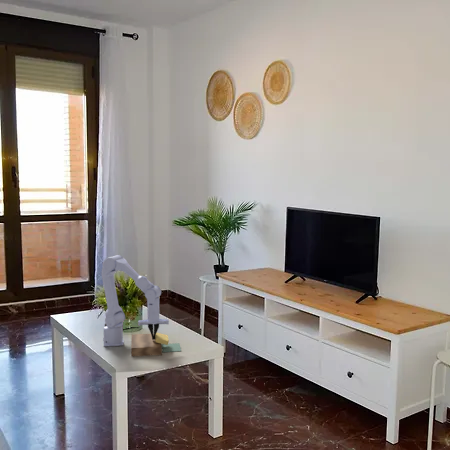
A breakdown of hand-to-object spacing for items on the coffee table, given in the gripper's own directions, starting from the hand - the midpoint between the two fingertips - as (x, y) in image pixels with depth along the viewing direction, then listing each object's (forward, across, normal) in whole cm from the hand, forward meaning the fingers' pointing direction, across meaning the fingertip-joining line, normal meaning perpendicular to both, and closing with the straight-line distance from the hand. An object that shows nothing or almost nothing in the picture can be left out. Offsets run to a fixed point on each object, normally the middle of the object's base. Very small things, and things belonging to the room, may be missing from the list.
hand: (153, 339), depth 247 cm
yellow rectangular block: (+1, +4, 0) cm, 4 cm away
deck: (+5, -4, +1) cm, 6 cm away
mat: (+5, +8, 0) cm, 10 cm away
